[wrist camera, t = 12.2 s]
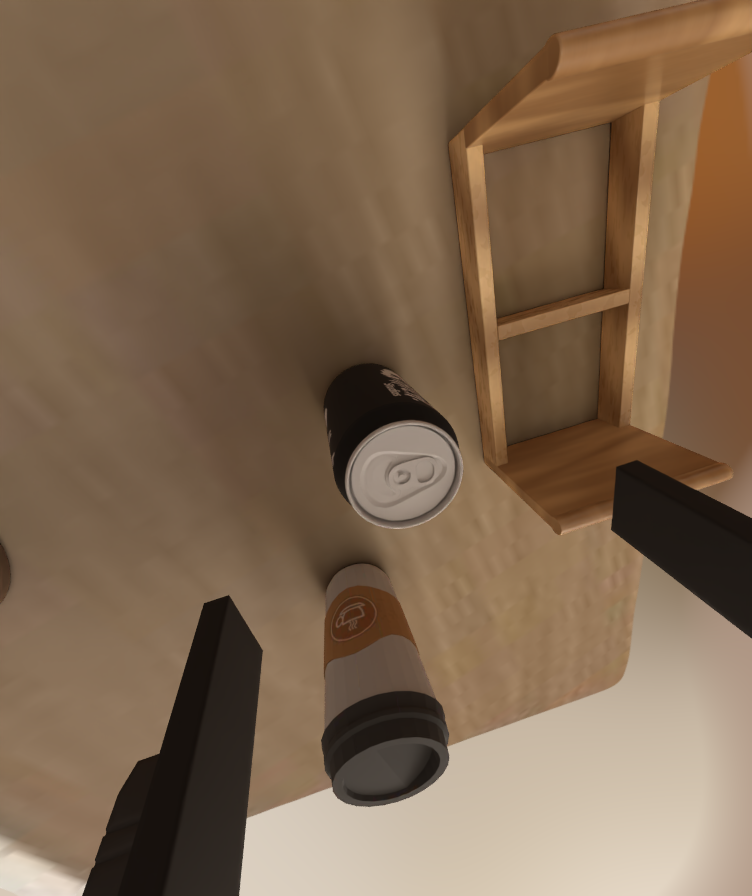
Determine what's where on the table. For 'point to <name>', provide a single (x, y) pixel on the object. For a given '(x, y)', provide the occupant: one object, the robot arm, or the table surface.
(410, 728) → the coffee cup
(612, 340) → the rack
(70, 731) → the table surface
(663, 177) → the table surface
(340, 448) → the beverage can
